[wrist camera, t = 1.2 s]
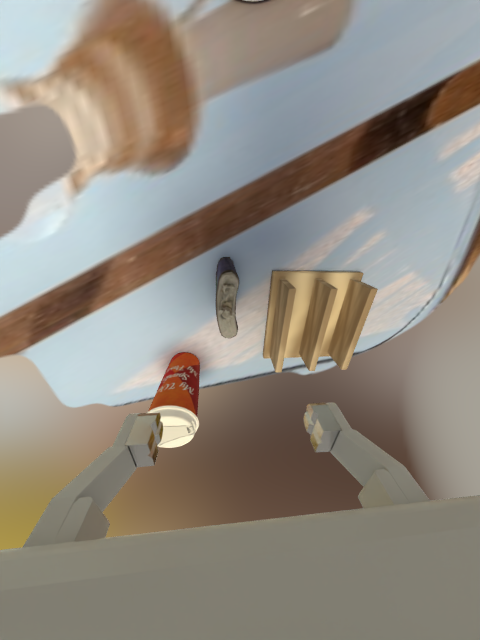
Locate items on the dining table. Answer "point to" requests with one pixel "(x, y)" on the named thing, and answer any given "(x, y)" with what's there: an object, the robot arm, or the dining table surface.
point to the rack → (315, 316)
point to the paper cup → (178, 400)
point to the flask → (226, 297)
